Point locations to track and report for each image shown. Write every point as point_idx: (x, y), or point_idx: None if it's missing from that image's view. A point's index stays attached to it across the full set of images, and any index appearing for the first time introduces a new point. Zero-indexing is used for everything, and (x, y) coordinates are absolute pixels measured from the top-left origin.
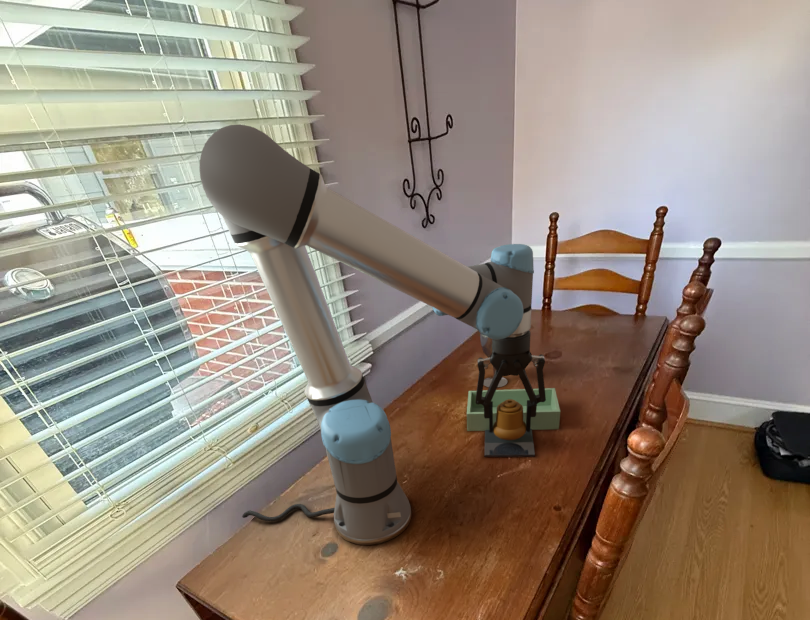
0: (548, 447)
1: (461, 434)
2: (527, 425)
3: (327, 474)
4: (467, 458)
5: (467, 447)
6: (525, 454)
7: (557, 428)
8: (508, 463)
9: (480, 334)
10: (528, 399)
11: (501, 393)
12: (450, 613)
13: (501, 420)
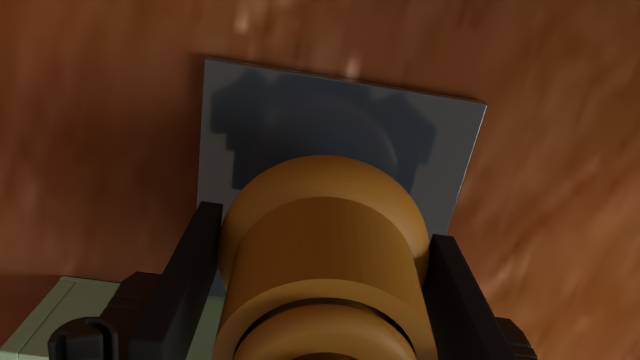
0: (124, 134)
1: (531, 312)
2: (208, 227)
3: None
4: (576, 106)
5: (540, 205)
6: (258, 69)
7: (66, 279)
8: (367, 15)
9: None
10: None
11: None
12: None
13: (404, 265)
